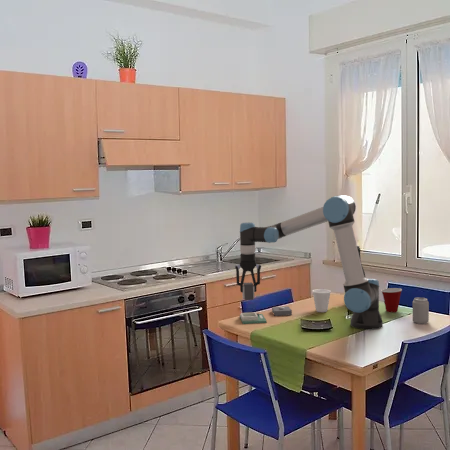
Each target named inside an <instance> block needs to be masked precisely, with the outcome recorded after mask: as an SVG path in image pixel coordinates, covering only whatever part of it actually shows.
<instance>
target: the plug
mask: <svg viewBox="0 0 450 450" xmlns="http://www.w3.org/2000/svg"><path fill="white" fill-rule="evenodd" d="M243 285H244V295H245V299H243V300H245V301H252V300H253V301H254V299H253V285H254V284H253V282H244V283H243Z"/></svg>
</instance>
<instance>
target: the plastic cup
mask: <svg viewBox="0 0 450 450" xmlns="http://www.w3.org/2000/svg"><path fill="white" fill-rule="evenodd" d="M402 291H403V289H402V288H400V287H399V288H397V287H390V288H389V287H388V288H382V289H380V292H381V293H382V294H381V295H382V297H383V303H384V307H385V312H387V313H397V312H398V310H399V306H400V300H401V295H402Z"/></svg>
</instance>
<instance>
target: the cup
mask: <svg viewBox="0 0 450 450" xmlns="http://www.w3.org/2000/svg"><path fill="white" fill-rule="evenodd" d="M331 291H332V290H329V289H324V288H318V289H312V291H311V292H312V295H313V300H314V305H315V306H314V307H315V311H316V312H317V313H326V312H327V311H328V309H329V304H330V297H331Z"/></svg>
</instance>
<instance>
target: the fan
mask: <svg viewBox="0 0 450 450" xmlns="http://www.w3.org/2000/svg"><path fill="white" fill-rule="evenodd" d="M271 311H272V314H273V315H274V316H275V317H278V316H280V317H281V316H282V315H283V316H293V310H292V309H291V308H290V306H287V305H285V306H273V307H271Z"/></svg>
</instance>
